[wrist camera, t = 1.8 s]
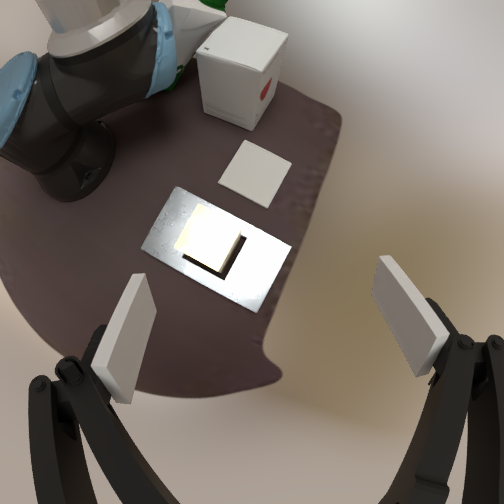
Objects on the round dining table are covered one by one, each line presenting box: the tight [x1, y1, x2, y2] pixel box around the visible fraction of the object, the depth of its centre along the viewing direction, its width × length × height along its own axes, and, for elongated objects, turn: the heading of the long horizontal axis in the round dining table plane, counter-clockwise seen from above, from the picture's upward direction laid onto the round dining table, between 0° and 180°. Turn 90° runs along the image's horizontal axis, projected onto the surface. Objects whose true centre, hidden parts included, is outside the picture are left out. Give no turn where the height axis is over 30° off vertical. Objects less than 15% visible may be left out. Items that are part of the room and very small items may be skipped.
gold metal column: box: [174, 204, 242, 274], centre depth 34 cm, size 5×5×12 cm
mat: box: [218, 140, 292, 209], centre depth 41 cm, size 8×8×1 cm
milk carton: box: [158, 0, 228, 91], centre depth 32 cm, size 9×9×20 cm
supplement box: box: [196, 16, 289, 131], centre depth 35 cm, size 9×9×15 cm
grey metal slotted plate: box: [141, 186, 291, 313], centre depth 39 cm, size 18×10×2 cm, turn 62°
